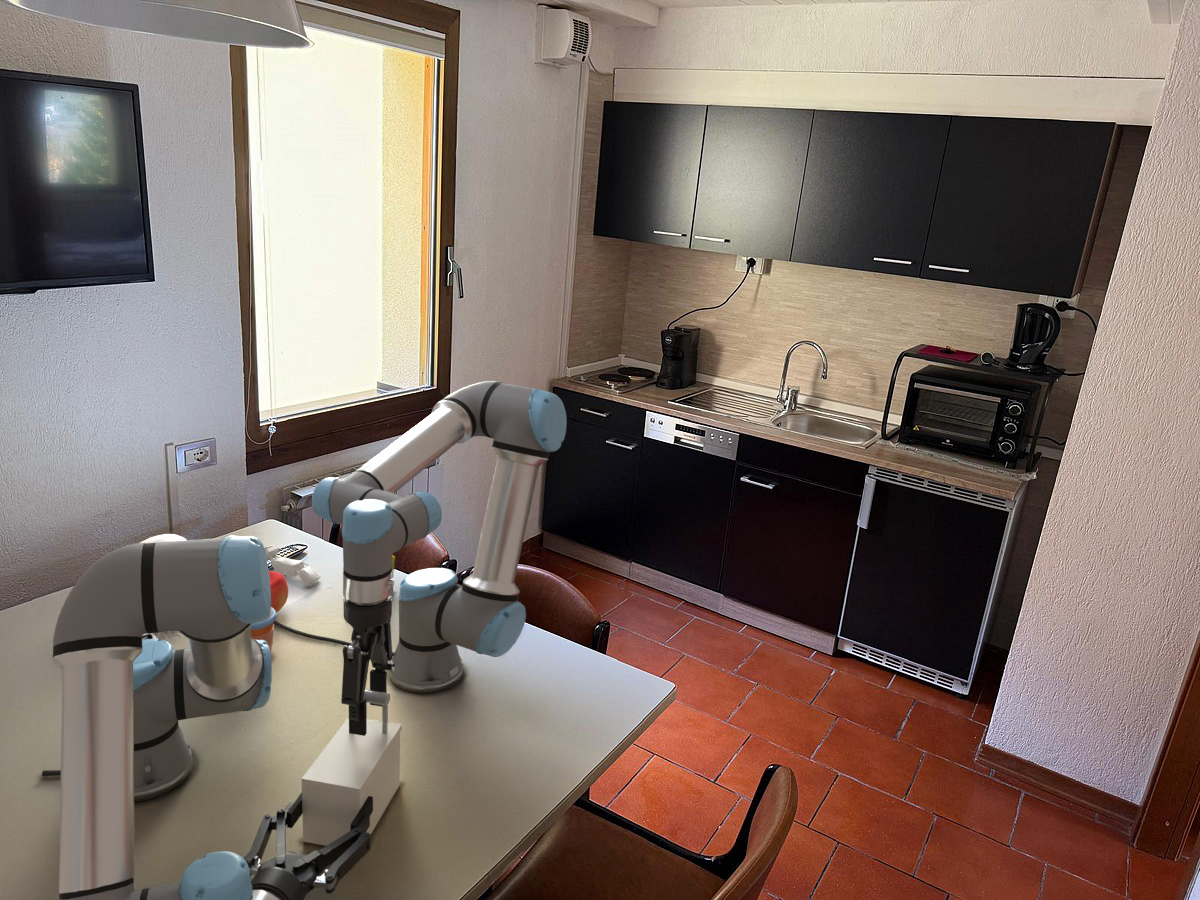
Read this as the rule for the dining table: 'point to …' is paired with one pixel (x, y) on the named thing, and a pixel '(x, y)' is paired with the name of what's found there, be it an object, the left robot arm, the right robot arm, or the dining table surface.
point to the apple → (278, 590)
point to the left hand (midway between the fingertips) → (340, 797)
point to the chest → (349, 802)
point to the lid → (354, 752)
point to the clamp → (291, 566)
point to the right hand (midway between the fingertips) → (368, 718)
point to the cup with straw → (264, 629)
